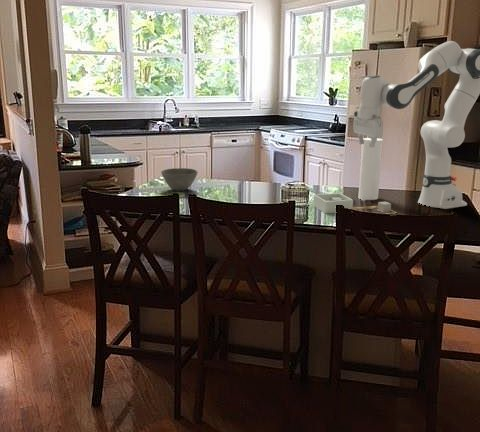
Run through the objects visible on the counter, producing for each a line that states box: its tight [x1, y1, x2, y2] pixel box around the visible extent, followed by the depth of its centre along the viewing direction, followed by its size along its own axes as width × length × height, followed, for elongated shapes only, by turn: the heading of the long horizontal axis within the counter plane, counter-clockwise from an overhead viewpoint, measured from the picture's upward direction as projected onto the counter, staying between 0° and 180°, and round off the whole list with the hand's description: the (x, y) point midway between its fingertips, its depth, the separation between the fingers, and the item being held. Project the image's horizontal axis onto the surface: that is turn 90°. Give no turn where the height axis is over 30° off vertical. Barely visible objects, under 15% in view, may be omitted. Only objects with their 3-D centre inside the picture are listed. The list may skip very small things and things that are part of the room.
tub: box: [312, 192, 354, 214], centre depth 235 cm, size 13×13×6 cm
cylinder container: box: [357, 137, 384, 201], centre depth 251 cm, size 9×9×30 cm
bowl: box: [160, 167, 199, 192], centre depth 269 cm, size 19×19×10 cm
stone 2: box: [377, 201, 392, 212], centre depth 230 cm, size 4×4×4 cm
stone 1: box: [331, 197, 342, 201], centre depth 238 cm, size 4×4×4 cm
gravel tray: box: [353, 205, 398, 214], centre depth 229 cm, size 16×12×2 cm
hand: (366, 145), depth 230 cm, fingers open, 8 cm apart
